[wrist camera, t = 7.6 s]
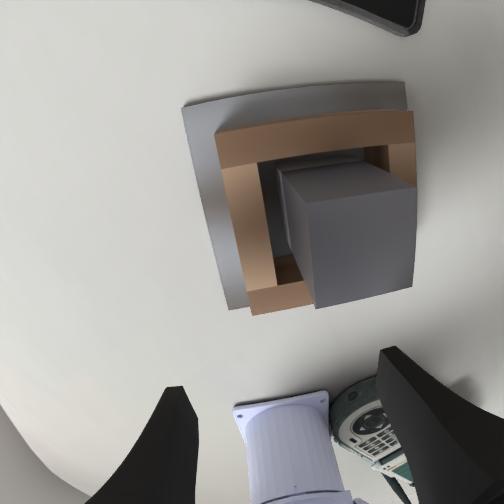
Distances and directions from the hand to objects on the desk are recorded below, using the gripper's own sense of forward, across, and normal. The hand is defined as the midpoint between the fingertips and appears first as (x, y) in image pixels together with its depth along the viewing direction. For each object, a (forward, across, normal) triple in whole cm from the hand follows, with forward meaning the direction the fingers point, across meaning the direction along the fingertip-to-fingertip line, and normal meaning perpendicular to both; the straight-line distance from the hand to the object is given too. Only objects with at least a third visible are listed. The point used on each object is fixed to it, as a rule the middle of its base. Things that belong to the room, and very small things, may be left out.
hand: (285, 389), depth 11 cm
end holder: (+9, -4, -4) cm, 11 cm away
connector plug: (+9, -4, -4) cm, 10 cm away
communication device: (+10, -13, +22) cm, 27 cm away
